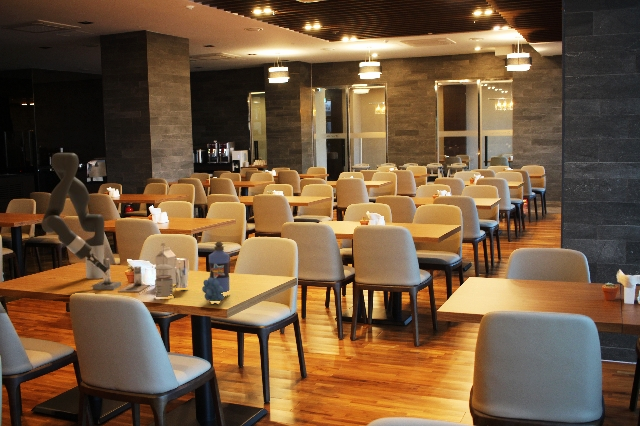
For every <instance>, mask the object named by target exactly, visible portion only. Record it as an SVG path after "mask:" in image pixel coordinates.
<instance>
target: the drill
mask: <svg viewBox="0 0 640 426" xmlns="http://www.w3.org/2000/svg"><path fill="white" fill-rule="evenodd" d="M103 265H104V266H105V267H106V268H107V269H108V270H107V271H106V272H103V278H102V279H103V280H102V281H103V284H108V285H110V284H111V282H112V280H111V279H112V278H111V275H112V274H111V273H112V272H111V259H110V258H109V257H104V259H103Z"/></svg>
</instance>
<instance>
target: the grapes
mask: <svg viewBox="0 0 640 426" xmlns="http://www.w3.org/2000/svg"><path fill="white" fill-rule="evenodd" d="M201 291H202V292H203V293H204V299H205V300H206V301H220V300H221V302H222V301H223V300H224V299H225V297H224V296H223V294H221V293H223V288H222V287H221V286H219V281H218V280H214V279H213V278H211V277H210V276H209V277H208V278H207V279H204V280H203V286H202V288H201Z"/></svg>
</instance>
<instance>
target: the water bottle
mask: <svg viewBox="0 0 640 426" xmlns="http://www.w3.org/2000/svg"><path fill="white" fill-rule="evenodd" d="M214 245H215V246H214V251H213V252H212V253H210V254H208V263H209V269H210V271H209V277H211V278H213V279H214V280H218V281H219V286H221V287H222V288H223V292H227V291H229V290H230V274H229V267H230V254H229V253H227V252H225V251H224V250H225V249H224V247H225V246H224V243H223V242H221V241H216V243H214Z"/></svg>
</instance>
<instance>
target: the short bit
mask: <svg viewBox="0 0 640 426" xmlns="http://www.w3.org/2000/svg"><path fill="white" fill-rule="evenodd" d="M133 269H134V273H133V274H134V275H133V279H134V280H133V284H134V286H142V284H143V282H142V279H143V277H142V266H134V268H133Z"/></svg>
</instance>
